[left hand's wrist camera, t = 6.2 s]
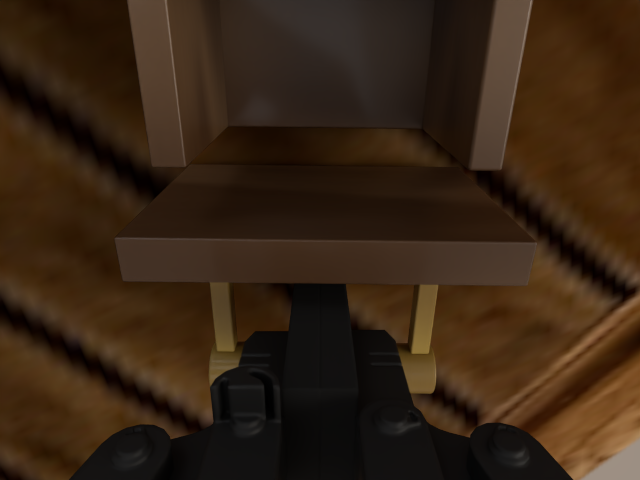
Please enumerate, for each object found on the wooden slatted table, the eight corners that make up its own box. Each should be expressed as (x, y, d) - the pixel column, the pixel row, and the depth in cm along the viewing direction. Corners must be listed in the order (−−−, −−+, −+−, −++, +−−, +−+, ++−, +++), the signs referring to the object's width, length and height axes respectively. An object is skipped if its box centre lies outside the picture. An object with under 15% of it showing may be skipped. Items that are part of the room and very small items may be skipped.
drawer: (437, 315, 19) (490, 444, 13) (206, 313, 19) (153, 441, 13) (542, -419, 11) (840, -1030, 5) (123, -425, 11) (-143, -1049, 5)
